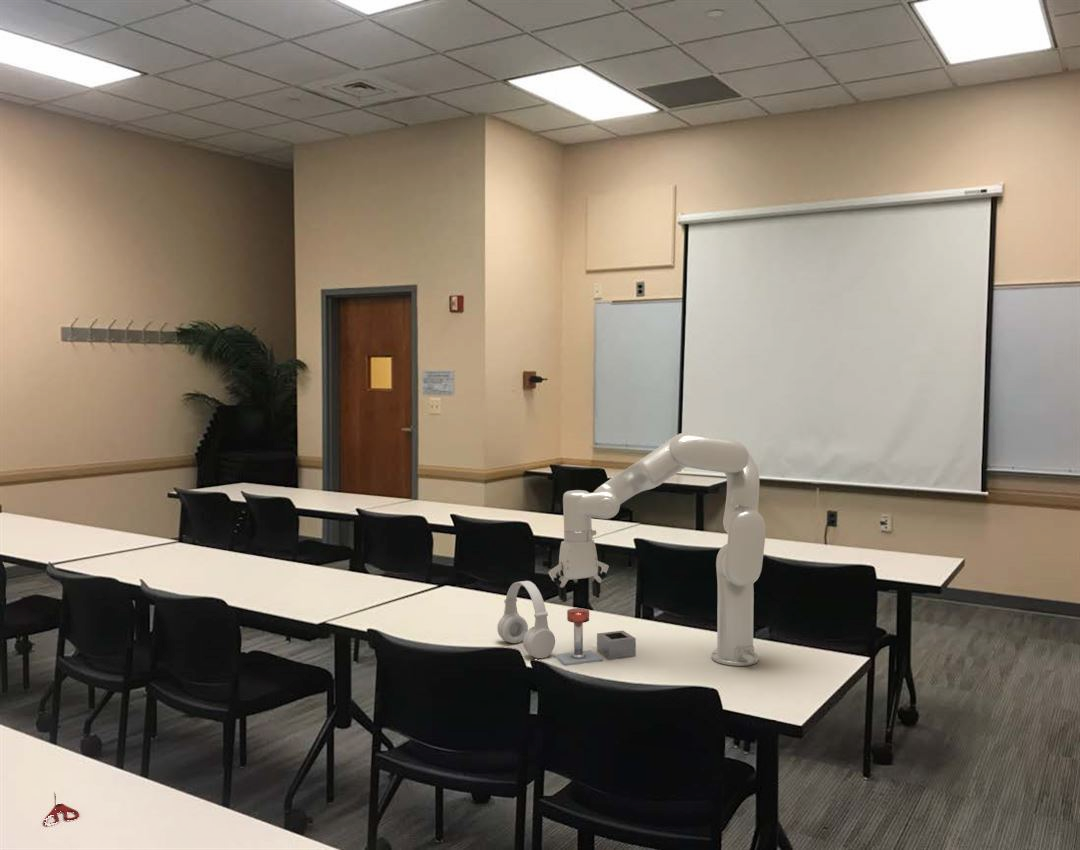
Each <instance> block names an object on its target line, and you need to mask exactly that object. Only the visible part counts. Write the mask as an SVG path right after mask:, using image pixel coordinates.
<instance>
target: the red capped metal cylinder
mask: <svg viewBox="0 0 1080 850" xmlns="http://www.w3.org/2000/svg"><path fill="white" fill-rule="evenodd" d="M566 621H567V622H570V623H573V651H572V652H573V653H572V652H571V653H572V654H571V655H572V658H574V659H583V658H585V653H584V652H583V651H584V641H583V640H584V636H583V635H584V627H583V626H584V624H583V623H587V622H589V621H590V610H589V609H587V608H581V607H580V608H579V607H577V608H569V609H567V611H566Z"/></svg>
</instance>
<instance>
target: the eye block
mask: <svg viewBox="0 0 1080 850" xmlns="http://www.w3.org/2000/svg"><path fill="white" fill-rule="evenodd" d="M636 641H637V639H636V637H634V636H633V635H631V634H629V633H628V632H626V631H624V630H616V631H615V630H614V631H607V632H600V633H599V632H598V633H596V652H598V653H599V654H601V655H602V656H604V658H606V659H607V660H609V661H611V660H617V659H624V658H634V657H636V655H637V653H636V651H637V650H636V649H637V648H636V643H637V642H636Z"/></svg>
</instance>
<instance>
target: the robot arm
mask: <svg viewBox="0 0 1080 850" xmlns="http://www.w3.org/2000/svg"><path fill="white" fill-rule="evenodd" d="M685 468H691V469H696V470H701V471H710V472H717V473H724V475H725V478H726V496H725V497H726V498H725V506H724V513H723V518H722V519H723V520H722V523H723V528H724V530H725V532H726V533H727V543H725V545H723V546H721V548H720V549H719V551H718V553H717V555H716V561H715V567H716V580H717V608H716V609H717V615H716V616H717V617H716V618H717V622H716V623H717V626H716V627H717V628H716V629H717V632H716V633H717V634H716V635H717V638H716V640H717V645H716V649H714V650H713V651H712V652H711V653H710V655H711V659H712V660H713V661H714V662H715V663H717V664H723V665H726V666H727V665H728V666H731V667H732V666H734V667H746V666H752V665H755V664H757V663H758V662H759V661H760V656H759V654H758V653H756V652H755V646H754V605H755V604H754V599H755V598H754V595H755V592H754V590H755V589H754V583H755V582H756V581H758V579H759V577H760V576H761V573H762V569H763V561H764V552H765V551H764V550H765V543H766V536H767V535H766V534H767V533H766V523H765V520H764V517H763V516H762V515H761V513H760V512H759V500H760V499H759V498H760V497H759V496H760V475H759V471H758V467H757V465H756V463H755V460H754V458H753V457H752V455H751V454H750V453H749V451H748V449H747V447H746V446H745V445H744V444H743V443H742V442H740V441H737V440H735V439H733V438H726V437H724V438H719V439H718V438H711V437H703V436H699V435H694V434H691V433H688V432H681V433H678V434H676V435H674V436H673V437H671V438H669V440H667V441H666V442H664V443H663V444H661V445H660V446H658V447H657V448H656V449H654V450H652V451H651V452H650V453H648V454H647V455H645V456H644V457H642V458H641V459H639V460H638V461H636V462H634V463H633V464H632V465H630V466H628V467H626V468H625V469H624V470H622V471H620V472H619V473H617V474H615V475H614V476H613V477H611V478H610V479H609V480H607V481H605V482H604V483H602V484H601V485H600V486H598V487H596V489H595V490H594V491H593V492H589V491H587V490H581V489H575V490H567V491H565V492H564V493H563V495H562V496H563V497H562V509H563V513H562V514H563V537H564V538H563V541H561V543H560V545H559V546H560V547H559V556H558V564H557V565H556V566H554V567H553V568H551V569H549V571H548V575H549V577H550V578H551V581H553V583H555V584H556V586H557V588H558V592H557V593H558V598H559V599H560V601H562V602H563V603H566V602H567V601H568V600H567V599H568V598H567V587H566V584H567V582H568V581H569V580H571V581H572V580H580V579H587V578H592V580H593V581H592V582H591V587H592V590H591V591H592V596H594V597H595V598H600V594H601V583H602V582H603V580H604V578H605V577H606V575H607V572H608V570H609V567H610V566H609V565H608V564H606V563H605V562H601V561H599V560H598V554H597V546H596V543H595V540H594V539H593V538H594V536H596V535H597V531H596V530H595V529H594V530H593V527H592V526H593V525H592V523H593V522H592V519H593V518H595V519H601V520H605V519H606V520H607V519H611V518H614V517H615V516H617V514H618V513H619V511H620V508H621V505H622V504H623V503H625V502H626V501H628V500H629V499H631V498H632V497H634V496H635V495H638V494H640V493H641V492H645V491H650V490H652V489H655V488H656V487H659V486H660V485H662V484H663V483H665V482H666V481H668V480H670V479H671V478H672V477H674V476H675V475H676V474H678V473H679V472H681V471H682V470H683V469H685ZM599 567H600V568H601V570H600V571H599ZM556 574H559V575H558V576H559V578H558V576H557V575H556Z"/></svg>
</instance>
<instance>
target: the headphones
mask: <svg viewBox="0 0 1080 850" xmlns="http://www.w3.org/2000/svg"><path fill="white" fill-rule="evenodd" d="M521 587H524V588H525V590H526V591H527V593H528V594H529V597H530V599H531V602H532V605H533V609H534V614H533V615H534V626H533V627H530V628H529V626H528V622H527V620H526V619H525V618H524V617H523V616H521V615H520V614H519V611H518V608H517V603H518V602H517V601H518V599H517V597H518V593H519V590H520V588H521ZM546 610H547V609H546V606H545V601H544V599H543V596H542V594H541V592H540V590H539V588H538V587H537V586H536V584H535V583H534V582H532V581H531V580H524V581H523V580H522V581H516V582H513V583H512V584H511V585H510V587H509V588H508V591H507V594H506V597H505V599H504V610H503V611H504V612H503V615H502V617H501V618H500V619H499V621H498V623H497V634H498V636H499V637H500V638H501V639H502V640H503V641H504V642H507V643H511V644H518V643H520V642H522V641H523V642H522V644H523V648H524V649H525V651H526V652H527V654H529V655H530V656H532V658H536V659H539V658H541V659H545V658H547V657H549V656H550V655H551V654H552V652H553V651H554V649H555V647H556V639H555V638H556V637H555V635H554V634H555V633H553V631H552V630H551V629H550V627H549V623H548V616H549V614H548V611H546ZM544 657H545V658H544Z"/></svg>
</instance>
